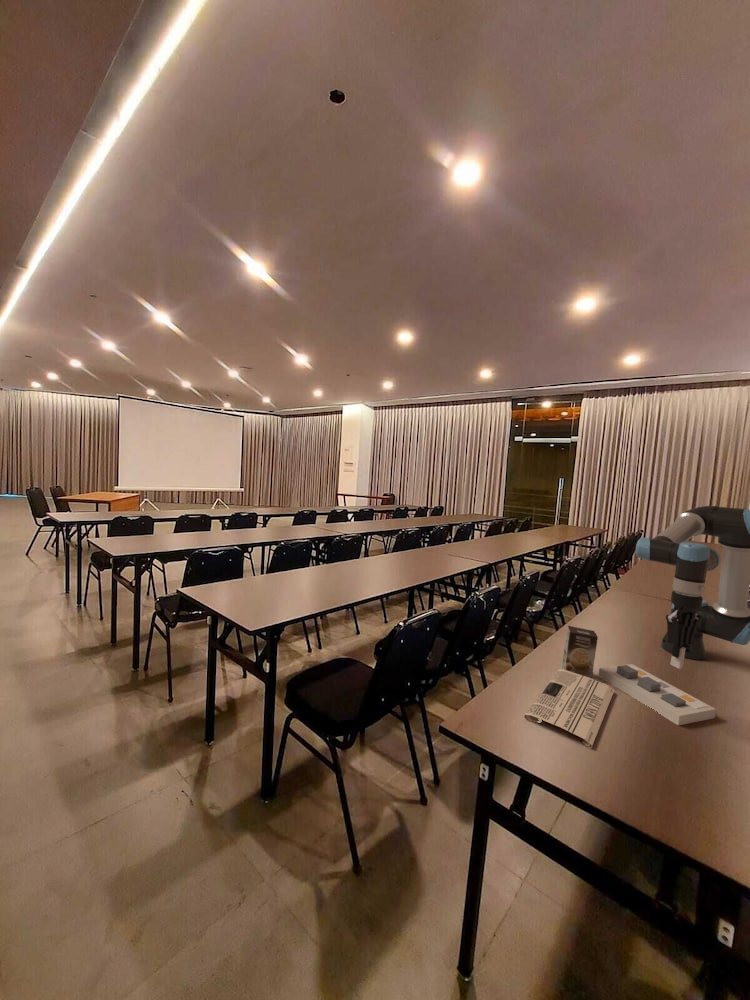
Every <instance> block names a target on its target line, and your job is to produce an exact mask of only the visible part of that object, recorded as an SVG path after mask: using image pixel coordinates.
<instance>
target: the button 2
mask: <svg viewBox="0 0 750 1000" xmlns="http://www.w3.org/2000/svg"><path fill="white" fill-rule="evenodd" d="M661 699H662V700H664V701H666V702H667V703H669V704H671V705H673V706H674V707H681V706H685V704H686V701H685V700H683V699H681V698H679V697H678V696H676V695H674V694H672V693H669V694H663V695H662V697H661Z"/></svg>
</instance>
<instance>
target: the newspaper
mask: <svg viewBox="0 0 750 1000" xmlns="http://www.w3.org/2000/svg"><path fill="white" fill-rule="evenodd" d="M614 693H615V689H614V688H612V687H611V686H610V685H608V684H606V683H603V682H601V681H599V680H596V679H593V678H592V679H591V678H589V677H586V676H583V675H580V674H576V673H573V672H570V671H567V670H563V669H561V668H559V669H557V671H556V672H555V674H554V675H553V677H552V678H551V679H550V680H549V681H548V683H547V684H546V686H545V687H544V688H543V690H542V691H541V692H540V694H539V695H538V696H537V697H536V699H535V700H534V701H533V702H532V705H531V706H530V707H529V708H528V710H527V711H526V712H525V714H524V717H523V718H524V719H525V720H526V719H527V721H529V720H530V722H532V721H533V722H532V723H535V722H537V721H539V720H538V719H541V720H543V721H544V722H547V723H549V724H551V725H553V726H556V727H559V728H561V729H563V730H565V731H567V732H569V733H571V734H573V735H574V736H577V737H579V738H580V739H582V742H581V743H582V745H584V746H586V747H588V749H593V746H594V743H595V741H596V739H597V735H598V733H599V730H600V728H601V725H602V723H603V720H604V718H605V715H606V713H607V710H608V708H609V705H610V702H611V700H612V697H613V696H614ZM536 724H538V722H537V723H536Z"/></svg>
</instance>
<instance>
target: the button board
mask: <svg viewBox="0 0 750 1000" xmlns="http://www.w3.org/2000/svg"><path fill="white" fill-rule="evenodd" d="M623 665H624V664H621V665H614V666H606V667H605V666H603V667H599V669H598V677H599V678H601V679H603V680H604V681H606V682H607V683H609V684H611V686H614V687H616V688H617V689H619V690H620V691H622V692H623V693H625V694H627V695H628V696H630V697H632V698H633V699H635V700H636V699H637V700H636V701H638V702H639V701H640V702H639V703H641V704H642V705H644V704H645V706H646V705H647V706H646V707H648V706H649V707H650V709H651V708H652V709H654V710H655V711H654V710H653V711H654V712H656V711H657V712H658V713H657V712H656V713H657V714H659V715H660V714H661V715H660V716H662V717H664V718H665V719H667V720H669V721H670V722H672V723H673V724H675V725H676V726H682V725H688V724H692V723H697V722H702V721H707V720H713V719H715V718H716V711H717V709H716V708H715V707H713V706H711V705H709V704H708V703H705V702H704V701H702V700H701V699H699V698H696V697H694V696H692V695H691V694H688V693H687V692H685V691H683V690H681V689H680V688H679V687H676V686H674V685H672V684H670V683H668V682H667V681H665V680H664V679H661V678H659V677H658V676H655V674H654V675H653V674H652V673H650V672H648V671H646V670H644V669H642V668H641V667H639V666H637V665H635V664H633V663H630V664H628V663H627V664H626V665H628V666H629V667H631V668H633V669H635V670H637V671H638V676H637V678H635V679H626V678H625V677H623V676H621V675H619V674H618V673H617V666H623ZM643 677H649V678H651V679H653V680H655V681H657V682H659V683H660V684H661V687H660V691H658V692H651V693H650V692H649V691H647V690H645V689H643V688H642V687H640V686H638V679H639V678H643ZM669 693H672V694H674V695H676V696H678V697H679V698H681V699H683V700H685V701H686V704H685V706H681V707H674V706H673V705H671V704H669V703H667V702H666V701H664V700H662V699H661V697H662V695H663V694H669ZM649 707H648V708H649ZM652 709H651V710H652Z"/></svg>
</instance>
